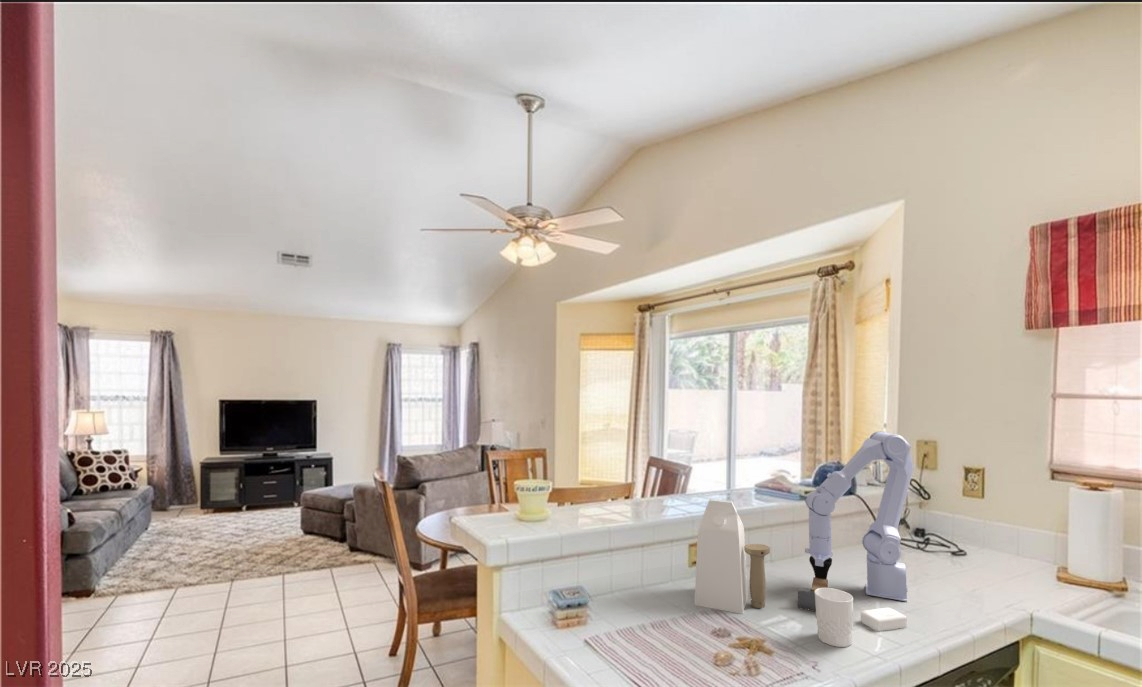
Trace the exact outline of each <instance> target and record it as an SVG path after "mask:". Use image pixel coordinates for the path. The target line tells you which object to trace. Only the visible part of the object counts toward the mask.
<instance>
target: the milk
mask: <svg viewBox="0 0 1142 687" xmlns="http://www.w3.org/2000/svg"><path fill="white" fill-rule="evenodd" d="M733 502H734V501H732V500H729V501H728V500H723V499H722V500H720V499H709V500H708V502H707V505H706V507H705V510H704V513H703V515H702V518H701V521H700V524H699V526H698V531H697V536H696V537H697V538H696V539H697V541H696V542H697V543H696V563H695V581H694V583H695V584H694V588H695V589H694V605H695V606H700V607H704V608H711V609H715V610H720V611H725V612H726V611H727V612H731V613H736V614H741V615H743V614H744V611H745V607H746V606H747V605H746V604H747V601H748V597H749V593H748V577H747V575H748V573H747V572H748V571H747V558H746V554H747V553H746V552H745V550H744V546H745V545H746V541H745V536H746V535H745V528H744V527H745V526H744V524H743V521H742V520H741V517H740V515H739V513H738V511H737V508H736V506H735V504H734V503H733Z"/></svg>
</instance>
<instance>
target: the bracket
mask: <svg viewBox="0 0 1142 687" xmlns="http://www.w3.org/2000/svg"><path fill="white" fill-rule="evenodd" d="M797 608H798V609H800V608H802V610H805V609H807V611H811V610H814V611H813V612H816V606H815V592H814V591H811V590H809V588H807V587H804V588H803V589H802V588H797ZM808 609H809V610H808Z"/></svg>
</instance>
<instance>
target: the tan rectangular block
mask: <svg viewBox="0 0 1142 687" xmlns="http://www.w3.org/2000/svg"><path fill="white" fill-rule="evenodd" d="M818 588H829V579H828V578H827V579H821V578H815V576H814V577H813V579H812V584H811V589H810V591H814V592H815V590H816V589H818Z"/></svg>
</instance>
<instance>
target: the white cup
mask: <svg viewBox="0 0 1142 687" xmlns="http://www.w3.org/2000/svg"><path fill="white" fill-rule="evenodd" d="M815 606H816V611H815V618H816V625H817V635H818V639H819V640H820V641H822V642H823V643H824V644H827V645H830V646H832V647H836V648H847V647H849V646H851V644H852V642H853V641H852V637H853V636H852V634H853V633H852V631H853V622H854V619H853V618H854V597H853V595H852V594H851V593H849V592H846V591H844V590H842V589H838V588H832V587H828V588H818V589H816V590H815Z"/></svg>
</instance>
